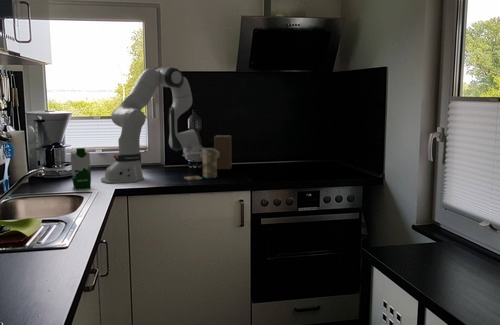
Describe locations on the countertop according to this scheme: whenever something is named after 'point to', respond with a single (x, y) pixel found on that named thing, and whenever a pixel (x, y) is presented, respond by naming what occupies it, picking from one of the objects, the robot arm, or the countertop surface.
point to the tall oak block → (209, 163)
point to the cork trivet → (193, 178)
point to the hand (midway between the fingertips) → (207, 156)
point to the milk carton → (81, 169)
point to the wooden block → (223, 151)
